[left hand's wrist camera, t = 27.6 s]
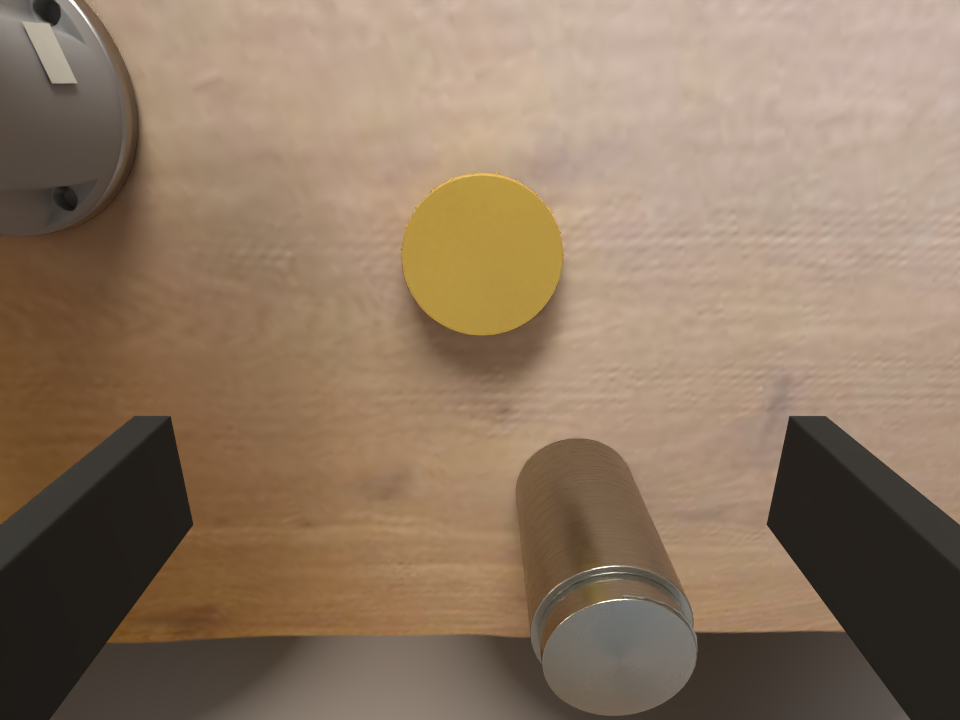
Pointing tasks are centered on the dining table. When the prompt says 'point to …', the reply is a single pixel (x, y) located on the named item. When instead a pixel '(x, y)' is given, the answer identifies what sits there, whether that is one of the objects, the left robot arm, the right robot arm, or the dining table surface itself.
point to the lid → (482, 254)
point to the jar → (600, 583)
